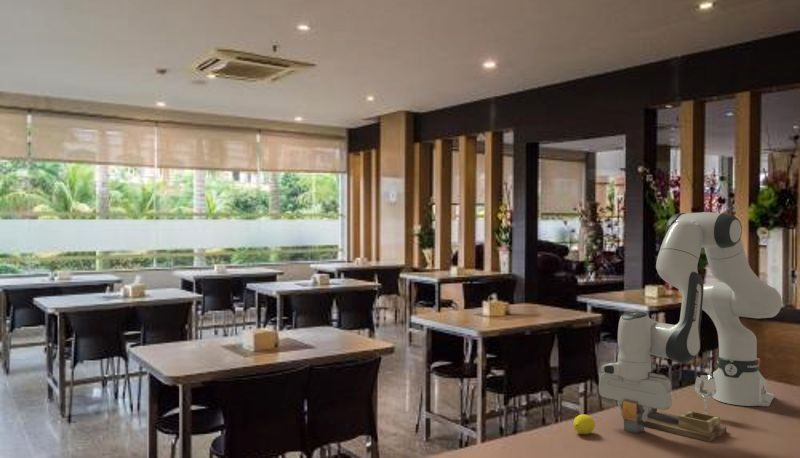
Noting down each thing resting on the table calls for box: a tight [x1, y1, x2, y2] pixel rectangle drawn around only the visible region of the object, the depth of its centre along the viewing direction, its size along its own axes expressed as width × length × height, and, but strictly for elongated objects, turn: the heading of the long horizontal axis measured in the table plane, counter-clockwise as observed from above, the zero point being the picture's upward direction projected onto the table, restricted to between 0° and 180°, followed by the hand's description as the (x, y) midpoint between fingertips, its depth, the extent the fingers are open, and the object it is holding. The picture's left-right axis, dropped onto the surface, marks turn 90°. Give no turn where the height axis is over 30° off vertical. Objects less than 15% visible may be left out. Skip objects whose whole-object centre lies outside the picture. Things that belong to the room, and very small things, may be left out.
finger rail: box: [644, 408, 727, 443], centre depth 179 cm, size 12×24×12 cm, turn 42°
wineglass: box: [694, 374, 716, 414], centre depth 189 cm, size 6×6×12 cm
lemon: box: [572, 414, 595, 435], centre depth 172 cm, size 7×5×5 cm
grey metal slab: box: [622, 398, 645, 435], centre depth 175 cm, size 5×4×9 cm
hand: (634, 418), depth 175 cm, fingers closed on grey metal slab, 4 cm apart
